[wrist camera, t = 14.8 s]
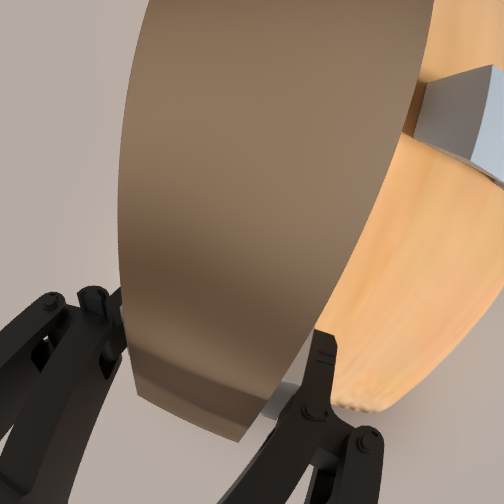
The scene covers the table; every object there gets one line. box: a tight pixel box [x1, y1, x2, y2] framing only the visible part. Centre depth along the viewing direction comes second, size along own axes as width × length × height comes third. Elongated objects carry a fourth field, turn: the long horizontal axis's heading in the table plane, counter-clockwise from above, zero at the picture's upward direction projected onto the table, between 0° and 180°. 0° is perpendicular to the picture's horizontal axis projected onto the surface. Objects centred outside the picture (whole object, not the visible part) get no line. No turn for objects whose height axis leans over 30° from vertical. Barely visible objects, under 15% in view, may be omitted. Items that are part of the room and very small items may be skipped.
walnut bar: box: [118, 0, 434, 443], centre depth 9 cm, size 14×4×8 cm, turn 166°
